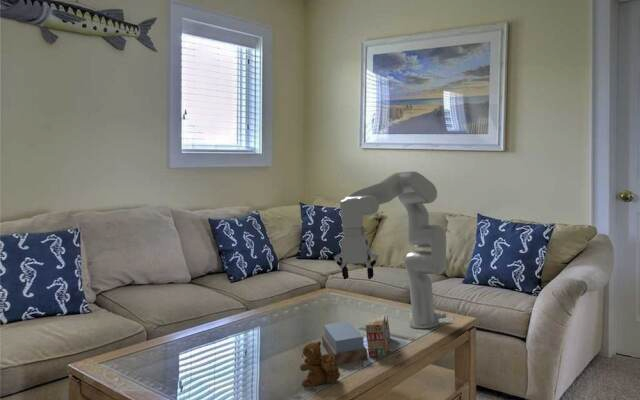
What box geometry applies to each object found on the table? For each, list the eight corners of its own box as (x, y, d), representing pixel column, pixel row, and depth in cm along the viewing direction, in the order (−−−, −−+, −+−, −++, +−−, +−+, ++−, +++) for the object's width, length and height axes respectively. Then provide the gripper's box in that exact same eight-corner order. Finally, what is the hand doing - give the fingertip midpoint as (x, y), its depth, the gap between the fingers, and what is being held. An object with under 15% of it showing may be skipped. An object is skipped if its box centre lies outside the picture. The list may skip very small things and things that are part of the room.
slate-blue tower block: (349, 332, 230) (348, 321, 230) (363, 348, 208) (362, 336, 207) (324, 335, 229) (323, 324, 228) (336, 353, 206) (335, 341, 206)
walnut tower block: (351, 341, 232) (350, 331, 232) (367, 361, 207) (366, 349, 207) (322, 346, 230) (321, 335, 229) (335, 366, 205) (334, 354, 205)
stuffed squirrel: (312, 374, 199) (308, 337, 198) (348, 378, 191) (344, 339, 191) (297, 385, 190) (292, 346, 189) (333, 389, 183) (329, 349, 182)
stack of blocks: (375, 339, 231) (371, 309, 230) (390, 338, 230) (387, 308, 229) (368, 357, 210) (365, 324, 209) (385, 356, 209) (382, 323, 208)
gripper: (379, 229, 208) (384, 275, 209) (336, 231, 215) (340, 276, 216) (372, 232, 201) (376, 280, 202) (327, 234, 209) (332, 281, 209)
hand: (358, 278), depth 209 cm, fingers open, 9 cm apart
